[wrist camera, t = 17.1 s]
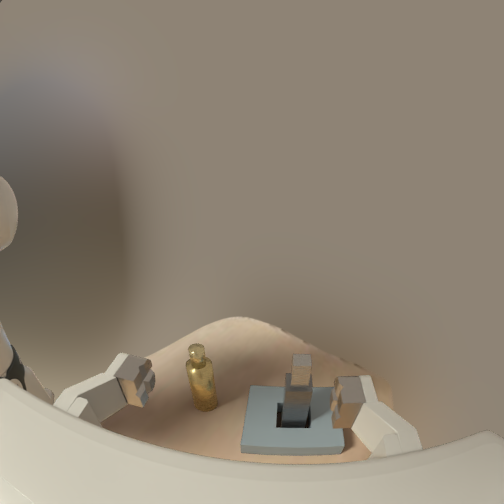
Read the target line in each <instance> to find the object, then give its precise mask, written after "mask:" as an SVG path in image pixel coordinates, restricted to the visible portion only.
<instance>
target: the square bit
mask: <svg viewBox="0 0 504 504" xmlns="http://www.w3.org/2000/svg"><path fill="white" fill-rule="evenodd" d="M311 368H312V362H311V354H293V359H292V368H291V373H286V378H285V388H284V397H283V405H282V414H281V428H305V424H306V420H307V416H308V411H309V407H310V402H311V398H312V393H313V388H312V376H311Z"/></svg>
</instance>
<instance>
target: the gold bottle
mask: <svg viewBox="0 0 504 504" xmlns="http://www.w3.org/2000/svg"><path fill="white" fill-rule="evenodd" d="M188 350H189V355H190V359H189V360H188V361H187V362H186V369H187V373H188V378H189V383H190V387H191V391H192V396H193V400H194V404H195V407H196V408H197V409H198V410H200V411H211V410H213V409H214V408H216V406H217V396H216V389H215V382H214V375H213V368H212V362H211V360H210V359H209V358H207V357H205V351H204V346H203V345H201V344H192V345H190V346H189V348H188Z"/></svg>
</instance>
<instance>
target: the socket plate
mask: <svg viewBox="0 0 504 504" xmlns="http://www.w3.org/2000/svg"><path fill="white" fill-rule="evenodd" d="M284 388H285V387H272V386H255V385H251V386H250V392H249V398H248V404H247V410H246V416H245V422H244V428H243V434H242V439H241V453H250V454H264V455H293V456H303V455H332V454H341V452H342V450H343V448H344V446H345V444H344V437H343V429H342V428H339V429H333V427H332V419H331V416H332V414H333V411H332V410H331V409H330V395H331V391H332V389H333V388H334V387H312V388H313V393H312V398H311V402H310V407H309V411H308V425H309V428H276V419H277V412H282V405H283V397H284Z"/></svg>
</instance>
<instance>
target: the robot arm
mask: <svg viewBox="0 0 504 504" xmlns="http://www.w3.org/2000/svg"><path fill="white" fill-rule="evenodd" d="M1 1H2V0H0V2H1ZM17 221H18V208H17V202H16V198H15V195H14V193H13V190H12V189H11V187H10V186H9V184H8V183H7V182H6V181H5V179H3V178H2V177H1V176H0V251H1V250H2V249H4V248H5V247H7V246H8V245H10V244H11V241H12V240H13V237H14V235H15V232H16V228H17ZM151 367H152V363H151V360H149V359H146V358H141V357H137V356H133V355H128V354H125V353H120V354H118V355H117V357H116V358H115V360H114V361H113V362H112V364H111V365H110V366H109V368H108V369H107V371H106V372H105V373H101V374H98V375H97V376H94V377H92V378H90V379H87V380H85V381H83V382H80V383H78V384H76V385H74V386H71V387H69V388H67V389H64V391H63V392H62V393H61V394H60V396H59V397H58V398H57V400H56V401H55V402H54V394H53V393H52V391H51V390H50V389H47V388H43V386H42V385H41V383H40V382H39V380H38V379H37V377H36V375H35V374H34V372H33V371H32V369H31V368H30V367H27V366H24V365H23V364H22V362H21V360H20V357H19V355H18V353H17V352H16V350H15V349H14V347H13V346H12V345H11V344H10V343H9V341H8V338H7V336H6V334H5V332H4V329H3V327H2V324H1V322H0V504H504V438H502V437H501V436H499V435H497V434H496V433H494V432H492V431H490V430H485V431H481V432H479V433H476V434H473V435H470V436H468V437H465V438H462V439H459V440H456V441H453V442H450V443H446V444H443V445H440V446H436V447H432V448H428V449H425V450H423V448H422V445H421V442H420V439H419V436H418V433H417V430H416V428H414V427H413V426H412V425H410V424H409V423H408V422H407V421H405V420H404V419H403V418H402V417H400V416H399V415H398V414H397V413H395V412H394V411H393V410H392V409H390V408H389V407H388V406H387V405H385V404H384V403H383V402H382V401H381V402H378V398H377V395H376V392H375V388H374V385H373V382H372V379H371V376H370V375H364V376H341V377H336V378H335V381H334V386H335V387H334V388H333V389H332V391H331V395H330V409H331V410H332V411H333V414H332V416H331V419H332V427H333V429H339V428H351V429H352V430H353V432H354V433H355V434H356V435H357V436H358V437H359V439H360V440H361V441H362V442H363V443H364V444H365V446H366V447H367V448H368V449H369V450H370V451H371V452H372V454H371V455H370V457H369V458H368V459H367V460H363V461H354V462H344V463H329V464H271V463H256V462H245V461H236V460H228V459H221V458H214V457H208V456H202V455H197V454H191V453H187V452H182V451H177V450H173V449H169V448H165V447H161V446H157V445H153V444H150V443H146V442H143V441H140V440H136V439H133V438H130V437H127V436H124V435H121V434H118V433H115V432H113V431H110V430H107V429H104V428H103V426H102V425H101V422H102V421H104V420H105V419H107V418H108V417H110V416H111V415H113V414H114V413H116V412H117V411H119V410H120V409H122V408H123V407H125V406H126V405H127V404H131V405H134V406H138V407H143V408H144V406H145V404H146V402H147V400H148V395H147V393H149V392H151V391H152V390H153V388H154V385H155V374H154V372H153V371H152V370H151Z"/></svg>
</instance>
